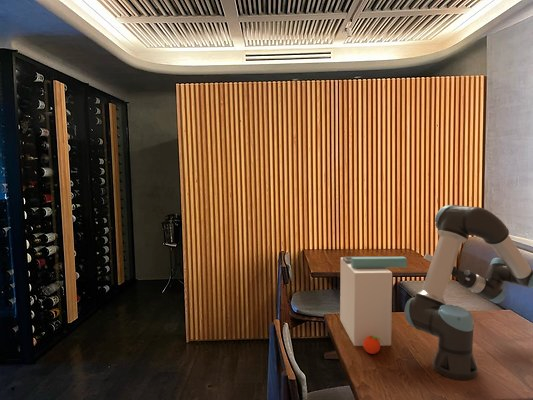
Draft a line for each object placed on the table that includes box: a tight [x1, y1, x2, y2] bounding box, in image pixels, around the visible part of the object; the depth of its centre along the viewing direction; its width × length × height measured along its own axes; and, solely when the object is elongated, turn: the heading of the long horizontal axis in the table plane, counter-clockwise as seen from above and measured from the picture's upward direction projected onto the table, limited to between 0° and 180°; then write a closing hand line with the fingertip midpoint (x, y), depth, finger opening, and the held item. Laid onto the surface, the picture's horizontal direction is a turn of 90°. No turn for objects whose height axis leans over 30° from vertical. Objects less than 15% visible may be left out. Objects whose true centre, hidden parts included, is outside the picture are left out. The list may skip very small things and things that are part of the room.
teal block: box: [350, 256, 408, 269], centre depth 181 cm, size 24×4×4 cm, turn 91°
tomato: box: [362, 336, 383, 355], centre depth 167 cm, size 8×7×7 cm
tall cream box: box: [339, 256, 393, 347], centre depth 188 cm, size 16×30×34 cm, turn 1°
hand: (431, 258), depth 182 cm, fingers open, 13 cm apart
